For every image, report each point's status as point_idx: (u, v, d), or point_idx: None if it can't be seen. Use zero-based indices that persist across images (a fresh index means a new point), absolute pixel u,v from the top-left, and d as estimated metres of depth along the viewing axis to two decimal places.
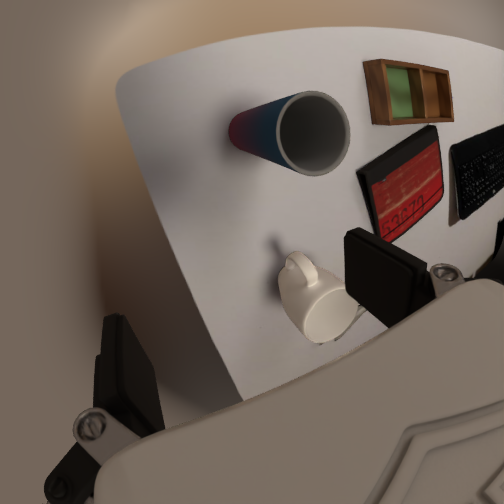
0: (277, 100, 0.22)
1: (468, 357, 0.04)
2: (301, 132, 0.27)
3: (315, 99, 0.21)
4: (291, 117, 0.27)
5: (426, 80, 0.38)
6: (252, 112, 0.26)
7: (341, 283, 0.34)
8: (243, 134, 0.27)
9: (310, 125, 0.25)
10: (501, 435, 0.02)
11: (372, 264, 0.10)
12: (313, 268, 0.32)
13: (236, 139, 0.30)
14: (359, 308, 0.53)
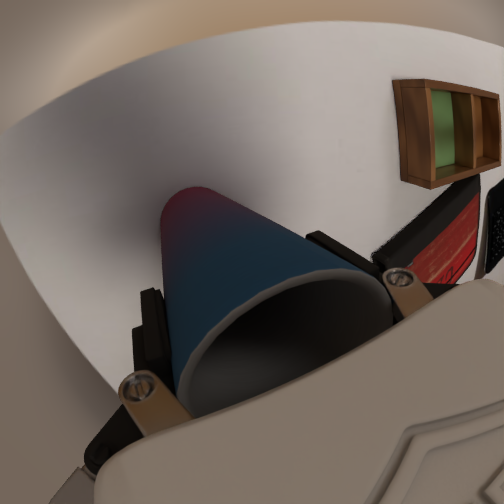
0: (205, 248, 0.09)
1: (468, 357, 0.04)
2: None
3: None
4: None
5: None
6: (172, 233, 0.13)
7: None
8: None
9: None
10: (501, 435, 0.02)
11: None
12: None
13: None
14: None
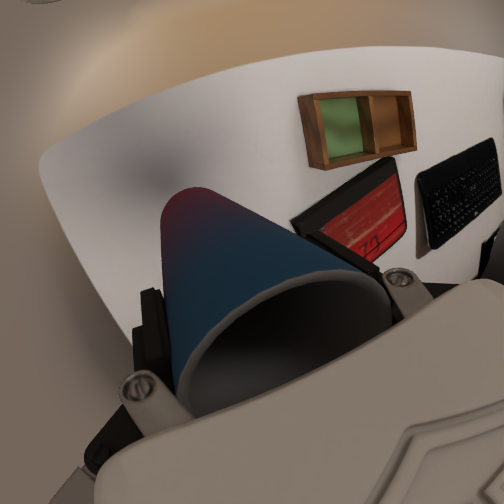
0: (205, 249, 0.09)
1: (468, 357, 0.04)
2: None
3: None
4: None
5: (383, 105, 0.39)
6: (172, 234, 0.13)
7: None
8: None
9: None
10: (501, 435, 0.02)
11: None
12: None
13: None
14: None
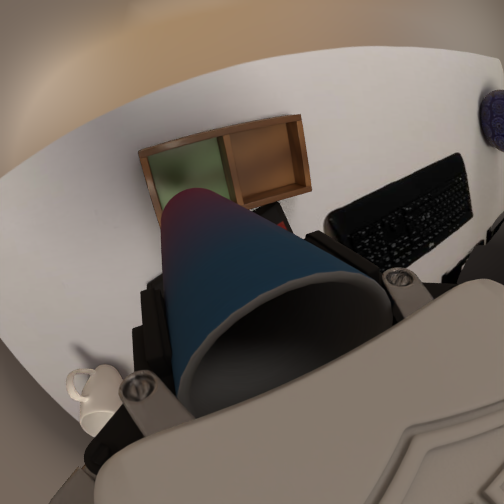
0: (205, 250, 0.09)
1: (468, 357, 0.04)
2: None
3: None
4: None
5: (263, 137, 0.35)
6: (172, 235, 0.13)
7: (105, 406, 0.31)
8: None
9: None
10: (501, 435, 0.02)
11: None
12: (74, 393, 0.29)
13: None
14: None
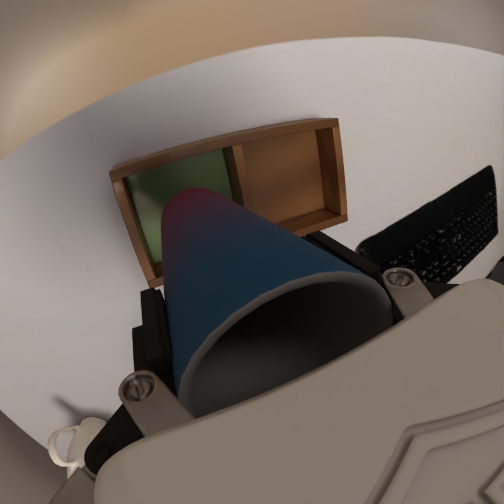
0: (206, 250, 0.09)
1: (468, 357, 0.04)
2: None
3: None
4: None
5: (285, 148, 0.26)
6: (173, 235, 0.13)
7: None
8: None
9: None
10: (501, 435, 0.02)
11: None
12: (58, 460, 0.20)
13: None
14: None
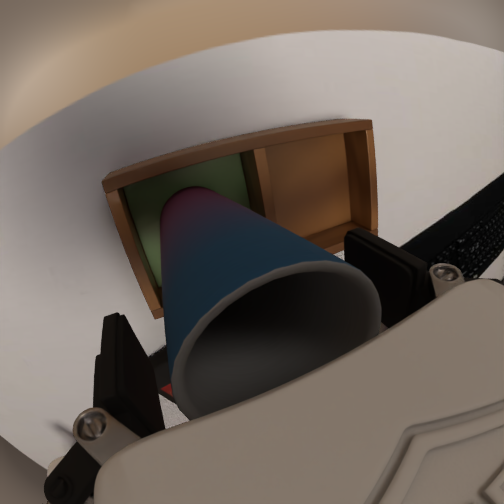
0: (200, 243, 0.09)
1: (468, 357, 0.04)
2: None
3: None
4: None
5: (311, 152, 0.22)
6: (171, 231, 0.13)
7: None
8: None
9: None
10: (501, 435, 0.02)
11: (372, 264, 0.10)
12: None
13: None
14: None
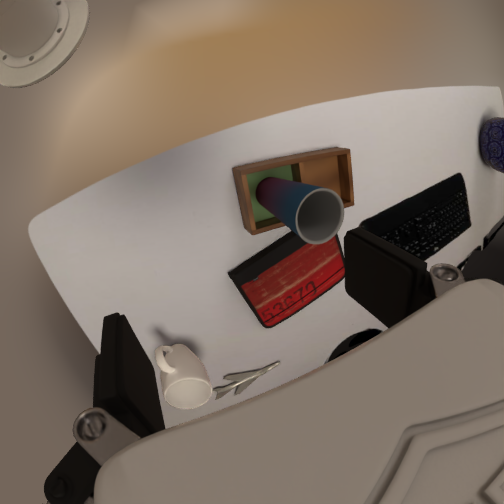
0: (295, 188, 0.35)
1: (468, 357, 0.04)
2: (310, 202, 0.40)
3: None
4: None
5: (321, 164, 0.48)
6: (276, 189, 0.38)
7: (191, 374, 0.42)
8: (269, 204, 0.40)
9: (317, 200, 0.38)
10: (501, 435, 0.02)
11: (372, 264, 0.10)
12: (165, 364, 0.41)
13: (262, 203, 0.43)
14: (254, 373, 0.61)
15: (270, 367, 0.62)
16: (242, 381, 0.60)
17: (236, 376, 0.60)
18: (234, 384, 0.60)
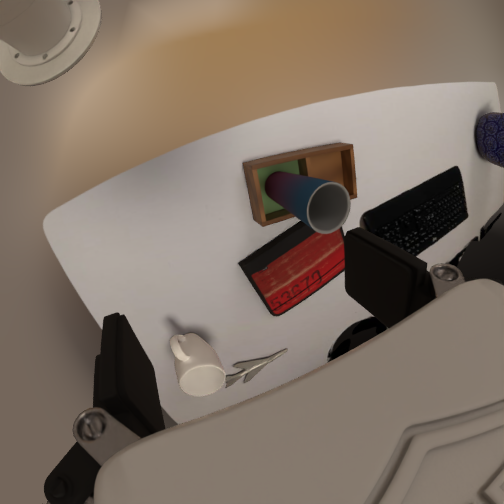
0: (305, 182, 0.37)
1: (468, 357, 0.04)
2: (318, 195, 0.42)
3: None
4: None
5: (326, 158, 0.50)
6: (286, 183, 0.41)
7: (206, 361, 0.45)
8: (279, 197, 0.42)
9: (324, 193, 0.40)
10: (501, 435, 0.02)
11: (372, 264, 0.10)
12: (181, 352, 0.44)
13: (272, 196, 0.45)
14: (262, 360, 0.64)
15: (278, 354, 0.65)
16: (251, 369, 0.63)
17: (245, 364, 0.63)
18: (243, 372, 0.63)
